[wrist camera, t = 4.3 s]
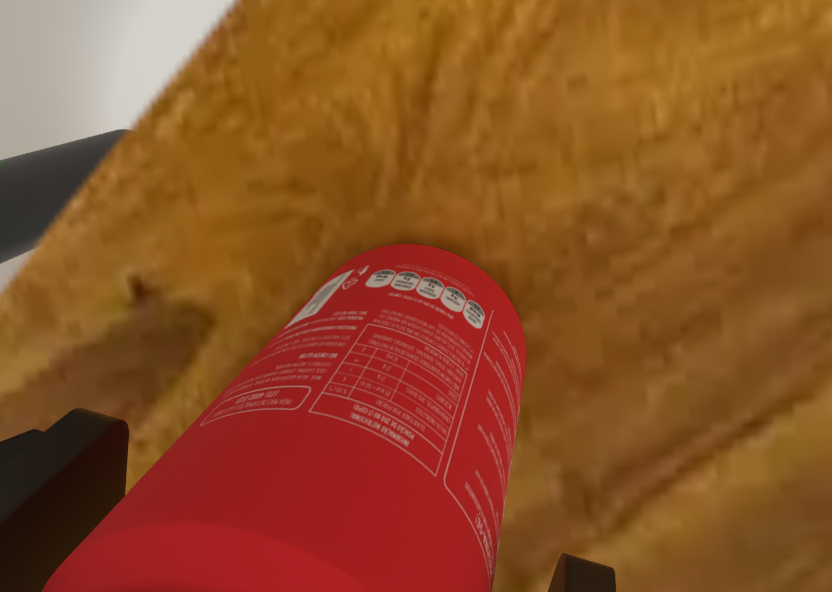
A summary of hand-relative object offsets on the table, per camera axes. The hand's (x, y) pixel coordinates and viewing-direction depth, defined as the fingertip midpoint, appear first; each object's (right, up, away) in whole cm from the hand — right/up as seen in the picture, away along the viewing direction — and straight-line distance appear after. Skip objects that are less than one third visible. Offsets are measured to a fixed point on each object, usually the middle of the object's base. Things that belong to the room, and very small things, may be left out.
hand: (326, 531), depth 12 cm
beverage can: (+2, +3, +7) cm, 8 cm away
